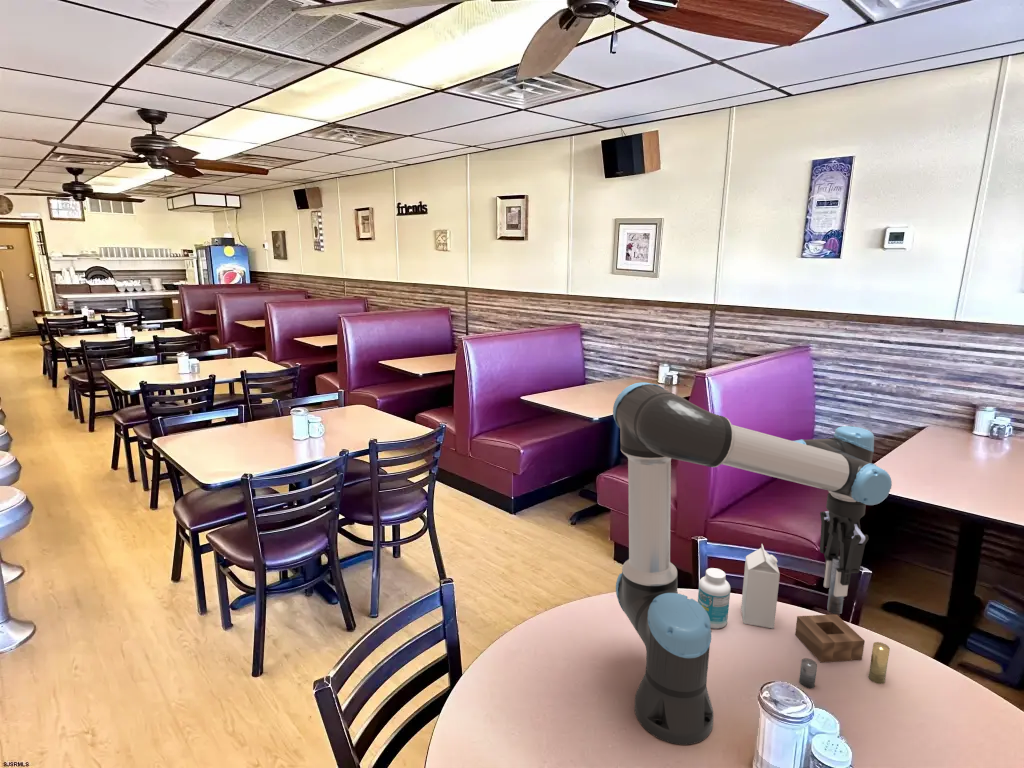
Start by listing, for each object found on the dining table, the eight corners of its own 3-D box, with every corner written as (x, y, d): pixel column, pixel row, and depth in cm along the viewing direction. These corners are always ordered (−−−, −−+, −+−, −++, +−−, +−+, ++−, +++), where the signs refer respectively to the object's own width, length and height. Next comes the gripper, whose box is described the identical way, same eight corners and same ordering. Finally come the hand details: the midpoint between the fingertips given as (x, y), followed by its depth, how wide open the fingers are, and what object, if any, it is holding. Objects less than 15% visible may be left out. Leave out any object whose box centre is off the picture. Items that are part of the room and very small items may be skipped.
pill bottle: (691, 612, 147) (695, 565, 144) (719, 611, 147) (723, 564, 145) (703, 630, 140) (707, 581, 137) (732, 629, 140) (736, 580, 137)
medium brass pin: (874, 684, 122) (879, 651, 120) (865, 674, 125) (870, 642, 123) (888, 683, 122) (893, 650, 120) (878, 673, 125) (882, 641, 123)
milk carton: (743, 624, 142) (749, 554, 138) (740, 608, 149) (747, 541, 145) (774, 629, 140) (781, 559, 136) (770, 613, 147) (777, 545, 143)
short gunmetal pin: (804, 688, 120) (806, 668, 119) (796, 678, 123) (798, 658, 122) (817, 688, 121) (820, 667, 120) (809, 678, 124) (811, 657, 123)
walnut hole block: (820, 662, 128) (822, 642, 127) (795, 634, 138) (797, 616, 137) (861, 660, 129) (864, 640, 128) (833, 632, 139) (836, 614, 138)
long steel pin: (832, 614, 130) (838, 563, 128) (824, 607, 133) (829, 556, 131) (844, 613, 130) (850, 562, 128) (836, 606, 133) (842, 555, 131)
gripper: (889, 510, 119) (874, 610, 123) (839, 481, 134) (828, 572, 139) (855, 511, 118) (842, 612, 123) (809, 482, 134) (799, 573, 138)
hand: (835, 590), depth 131 cm, fingers closed on long steel pin, 3 cm apart
